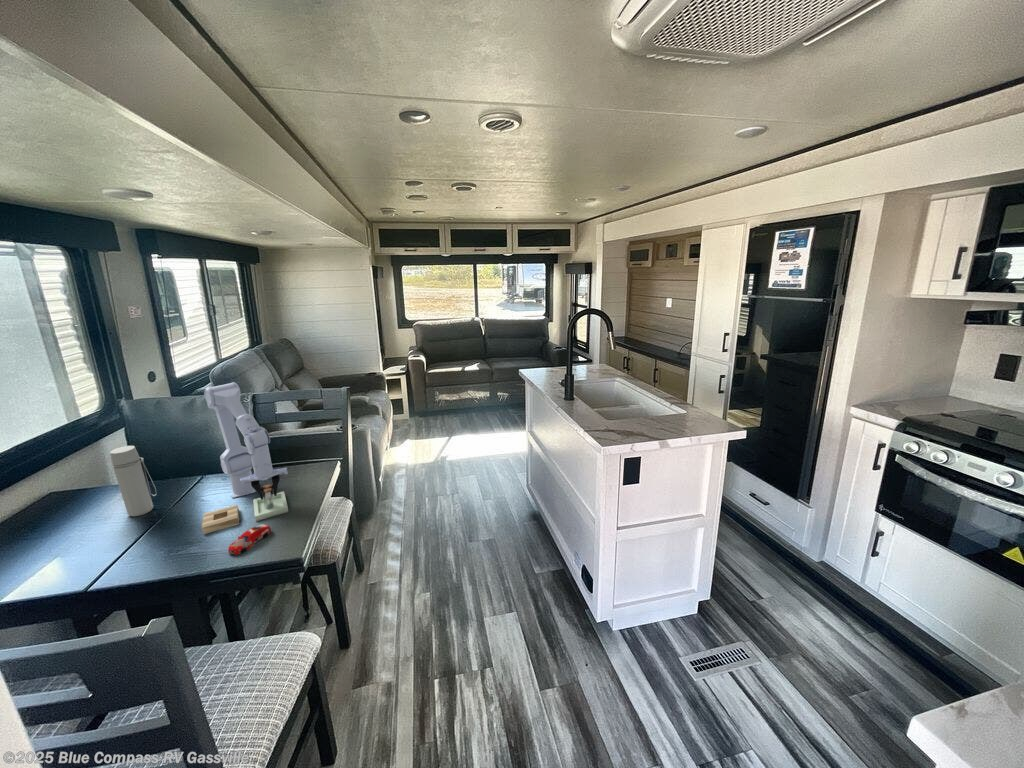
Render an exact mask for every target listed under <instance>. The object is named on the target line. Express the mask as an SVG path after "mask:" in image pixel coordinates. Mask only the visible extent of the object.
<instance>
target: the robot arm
mask: <svg viewBox="0 0 1024 768" xmlns="http://www.w3.org/2000/svg"><path fill="white" fill-rule="evenodd" d="M203 394H204V398H205V401H206V405H207V408H208V409H212V410H214V412H215V415H216V417H217V421H218V424H219V425H218V426H219V427H220V431H221V434H222V437H223V441H224V445H225V450H224V452H222V454H221V455H220V456H219V459H220V467H221V470H222V472H223V473H224V474H225V475H228V476H229V481H230V486H231V499H235V498H238V497H243V496H246V495H250V494H254V493H256V492H257V495H259V498H261V500H262V499H263V497H264V496H263V492H262V491H261V487H262V486H261V482H260V481H267V480H268V479H270V478H271V481H272V485H273V490H272V491H273V494H274V496H277V493H278V492H277V491H278V487H279V486H278V485H279V483H280V479H281V478H280V476H281V475H285V476H286V475H288V474H289V473H288V468H287V467H282V468H281V467H280V468H273V465H272V459H271V454H270V453H271V452H270V450H269V444H270V443H271V437H270V434H269V432H268V430H267V429H266V428H265V427H263V426H260V425H259V423H258V422H257V420H256V419H255V417H254V416H253V415H252V414H249V413H247V411H246V409H245V407H244V406H243V403H242V402H241V395H242V392H241V389H240V386H239V385H238V383H236V382H233V381H232V382H230V383H226V384H220V385H216V386H210V387H205V389H204V393H203ZM234 418H235V419H236V420H235V419H234ZM237 428H238V430H239V431H240V433H241V434H242V436H243V442H244V444H245V446H243V445H242V443H241V440H240V437H239V432H238V430H237ZM252 469H253V473H252Z"/></svg>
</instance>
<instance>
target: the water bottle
mask: <svg viewBox="0 0 1024 768" xmlns="http://www.w3.org/2000/svg"><path fill="white" fill-rule="evenodd" d="M109 455H110V461H111V465H112V469H113V471H114V474H115V478H116V482H117V484H118V488H119V491H120V494H121V498H122V501H123V504H124V507H125V510H126V513H127V515H128V516H129V517H141V516H143V515H145V514H147V513H149V512H151V511H152V510H153V508H154V503H153V501H152V500H153V499H152V497H151V496H153V497H155V496H157V493H155V494H153V493H151V492H152V490H151V488H150V484H149V480H148V477H149V478H150V480H151V483H152V485H153V487H154V490H155V491H157V488H156V486H155V483H154V482H153V479H152V478H151V475H150V474H149V471H148V468H147V467H146V465H145V462H144V460H145V459H144V457H140V455H139V452H138V450H137V449H136V446H135V445H125V446H121V447H116V448H114V449H112V450H111V451H109ZM142 465H143V466H142ZM147 474H148V476H147Z"/></svg>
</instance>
